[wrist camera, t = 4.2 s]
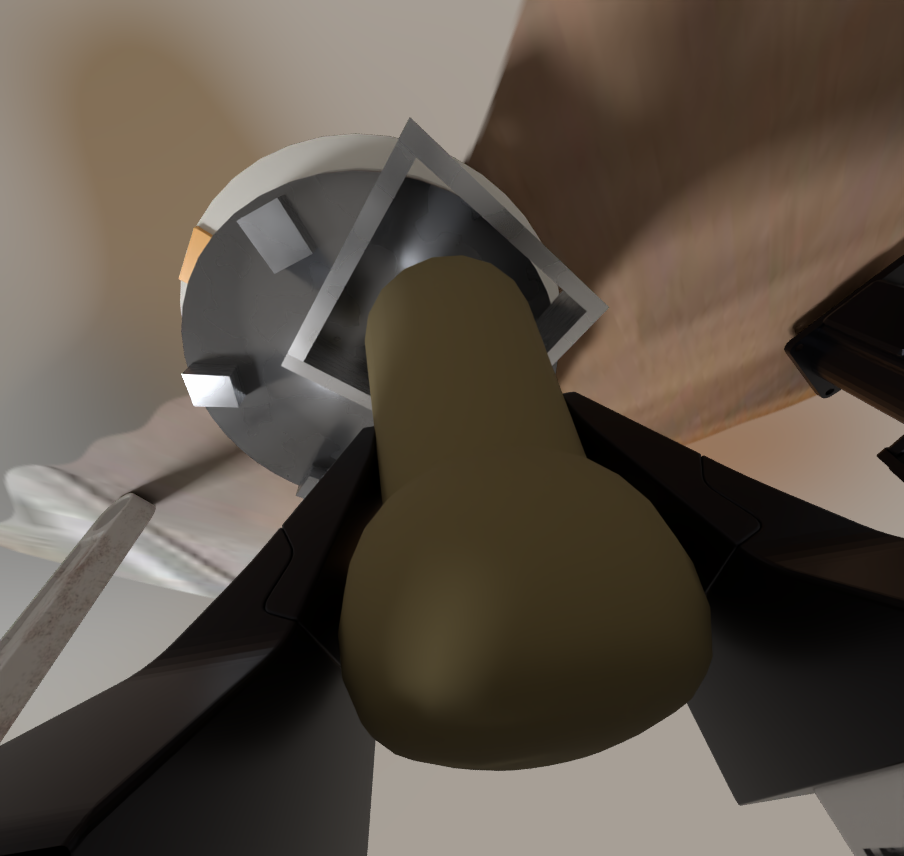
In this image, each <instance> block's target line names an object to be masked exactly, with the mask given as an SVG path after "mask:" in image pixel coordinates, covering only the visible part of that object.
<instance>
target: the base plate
mask: <svg viewBox="0 0 904 856" xmlns="http://www.w3.org/2000/svg"><path fill="white" fill-rule="evenodd" d="M398 139H399V138H395V137H391V136H381V135H368V134H345V135H334V136H323V137H318V138H314V139H311V140H307V141H303V142H299V143H296V144H292V145H289V146H286V147H284V148H282V149H280V150H278V151H276V152H274V153H272V154H270V155H267V156H265V157H263V158H261V159H259V160H258V161H256V162H255V163H254V164H252V165H251V166H250V167H248V168H247V169H245V170H244V171H243V172H241V173H240V174H239V175H237V176H236V177H234V178H233V179H232V181H230V182H229V184H228V185H227V186H226V187H225V188H224V189H223V190H222V191H221V192H220V193H219V194H218V195H217V196H216V197H215V198H214V199H213V201H212V203H211V204H210V205H209V207H208V209H207V210H206V212H205V213H204V215H203V216H202V218H201V220H200V221H199V223H198V224H197V226H196V227H194V229H193V233H192V236H191V239H190V243H189V246H188V249H187V252H186V256H185V259H184V262H183V266H182V269H181V272H180V276H179V279H180V280H181V297H180V306H181V314H182V307H183V302H184V298H185V293H186V288H187V284H188V281H189V278H190V276H191V274H192V271H193V269H194V266H195V264H196V262H197V259H198V257H199V256H200V254H201V253H202V251H203V250H204V248H205V247H206V245H207V244H208V242H209V241H210V239H211V238H212V236H213V235H214V233H215V232H216V231H217V230H218V229H219V228H220V227H221V226H222V225H223V224H224V223H225V222H226V221H227V220H228V219H229V218H230V217H231V216H232V215H233V214H234V213H235V212H237V211H238V210H240V209H241V208H243V207H244V206H245V205H247V204H248V203H250V202H251V201H253V200H254V199H255V198H257V197H258V196H260V195H262V194H264V193H266V192H269V191H271V190H273V189H275V188H277V187H279V186H282V185H284V184H286V183H288V182H291V181H294V180H297V179H300V178H303V177H307V176H311V175H314V174H318V173H322V172H326V171H330V170H340V169H350V168H372V169H383V168H384V166H385V164H386V162H387V160H388V158H389V156H390V154H391V152H392V151H393V149H394V147H395V145H396V143H397V141H398ZM451 157H452V156H451ZM452 158H453V159H454V160H455V161H456V162H457V163H458V164H460V165H461V166H462V167H463V168H464V169H465V170H466V171H467V172H468V173H469V174H470V175H471V176H472V177H473V178H474V179H475V180H476V181H477V182H478V183H479V184H480V185H482V186H483V187H484V188H485V189H486V190H487V191H488V192H489V193H490V194H491V195H492V196H493V197H494V198H495V199H496V200H497V201H498V202H499V203H500V204H501V205H502V206H504V207H505V208H506V209H507V210H508V211H509V212H510V213H511V214H512V215H513V216H514V217H515V218H516V219H517V220H518V221H519V222H520V223H521V224H522V225H523V226H524V227H526V228H527V229H528V230H529V231H530V232H531V233H532V234H533V235H534V236H535V237H536V238H537V239H538V240H539V241H540V239H539V237H538V236H537V234H536V233H535V231H534V230H533V228H532V227H531V225H530V224H529V222H528V220H527V219H526V217H525V216H524V215H523V214H522V213H521V211H520V210H519V209H518V208H517V207H516V206H515V205H514V203H513V202H512V201H511V200H510V199H509V198H508V197H507V196H506V194H504V193H503V192H502V191H501V190H500V189H499V188H497V187H496V186H495V185H494V184H493V183H491V182H490V181H489V180H488V179H487V178H485V177H484V176H483V175H482V174H480V173H479V172H477V171H476V170H474V169H472V168H471V167H469V166H467V165H466V164H464V163H462V162H461V161H459V160H457V159H456V158H454V157H452ZM407 174H411V175H415V176H419V177H421V178H424V179H427V180H429V181H432V182H434V183H437V184H439V185H442V186H445V187H446V188H448V189H450V190H452V189H451V188H450V187H449V186H447V185H446V184H445V183H444V182H443V181H442V180H441V179H440V178H439V177H438V176H436V175H435V174H434V173H433V172H432V171H431V170H430V169H429V168H428V167H426V166H425V165H424V164H423V163H422V162H421V161H420V160H419V159H418V158H416V159H415V161H414V162H413V164H412V166H411V168H410V170H409V171H408V173H407ZM452 191H453V190H452ZM453 192H454V191H453ZM540 242H541V241H540ZM530 261H531V260H530ZM531 262H532V261H531ZM532 264H533V265H534V267H535V268H536V270H537V272H538V274H539V276H540V278H541V280H542V282H543V284H544V286H545V288H546V290H547V293H548V296H549V299H550V302H551V303H552V302H553V301H554V300H555V299H556V298H557V296H558V295H559V290H558V285H557V284H556V283H555V282H554V281H553V280H552V279H550V278H549V277H548V276H547V275H546V274H545V273H544V272H543V271H542V270H540V269H539V268H538V267H537V266H536V265H535V264H534V263H533V262H532Z"/></svg>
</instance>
